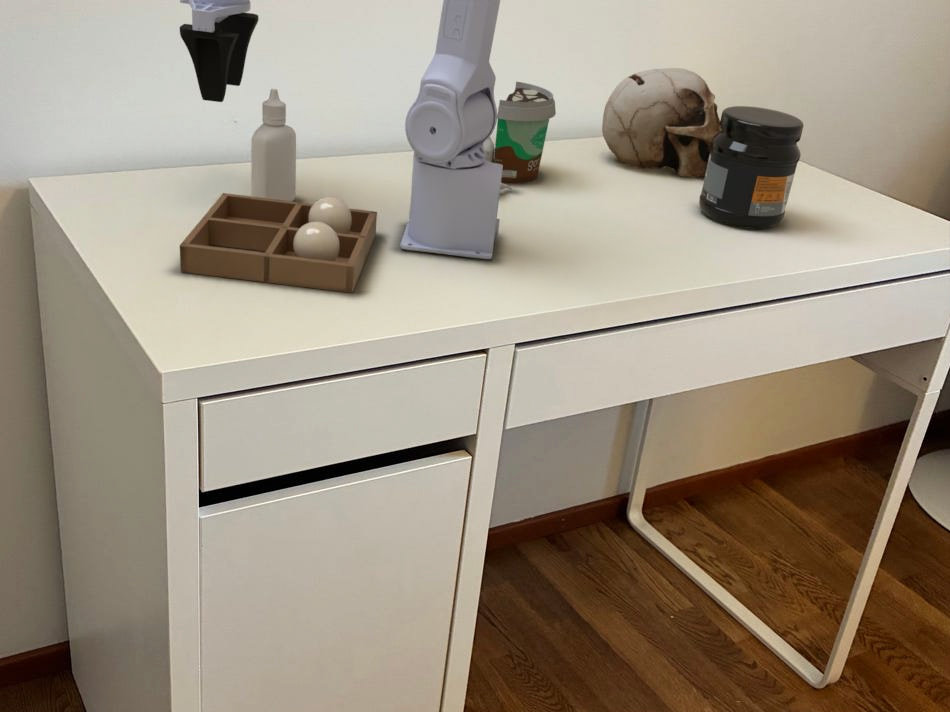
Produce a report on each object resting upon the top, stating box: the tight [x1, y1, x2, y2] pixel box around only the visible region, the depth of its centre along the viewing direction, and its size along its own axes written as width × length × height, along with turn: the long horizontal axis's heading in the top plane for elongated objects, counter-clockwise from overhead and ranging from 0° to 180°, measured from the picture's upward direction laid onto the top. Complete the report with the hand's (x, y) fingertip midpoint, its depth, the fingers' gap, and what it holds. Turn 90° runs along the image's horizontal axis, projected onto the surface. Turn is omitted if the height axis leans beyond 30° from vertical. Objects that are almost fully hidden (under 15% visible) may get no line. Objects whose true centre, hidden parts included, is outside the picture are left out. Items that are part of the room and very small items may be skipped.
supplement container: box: [698, 105, 805, 230], centre depth 133 cm, size 10×10×12 cm
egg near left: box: [308, 196, 352, 234], centre depth 112 cm, size 4×4×4 cm
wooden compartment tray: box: [179, 192, 378, 294], centre depth 109 cm, size 16×16×3 cm
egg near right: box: [293, 222, 340, 261], centre depth 105 cm, size 4×4×4 cm
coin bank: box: [601, 67, 721, 178], centre depth 150 cm, size 16×17×13 cm
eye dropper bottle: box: [250, 88, 297, 202], centre depth 119 cm, size 4×6×12 cm
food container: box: [494, 81, 557, 185], centre depth 138 cm, size 12×6×10 cm, turn 168°
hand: (221, 92), depth 119 cm, fingers open, 7 cm apart
